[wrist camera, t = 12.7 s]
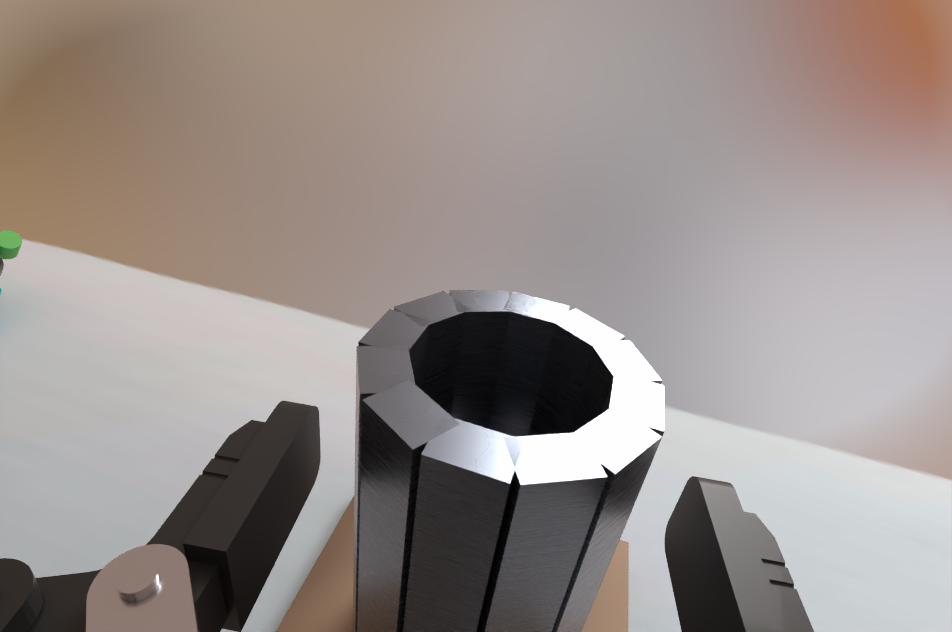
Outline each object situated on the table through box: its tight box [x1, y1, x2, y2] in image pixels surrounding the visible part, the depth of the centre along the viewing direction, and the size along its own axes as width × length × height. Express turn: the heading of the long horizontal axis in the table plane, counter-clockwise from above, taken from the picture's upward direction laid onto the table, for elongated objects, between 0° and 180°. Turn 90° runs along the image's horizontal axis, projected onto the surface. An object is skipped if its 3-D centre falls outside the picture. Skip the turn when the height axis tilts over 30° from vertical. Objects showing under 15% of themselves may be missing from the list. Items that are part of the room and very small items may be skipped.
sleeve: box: [353, 290, 664, 632], centre depth 13 cm, size 6×6×10 cm
